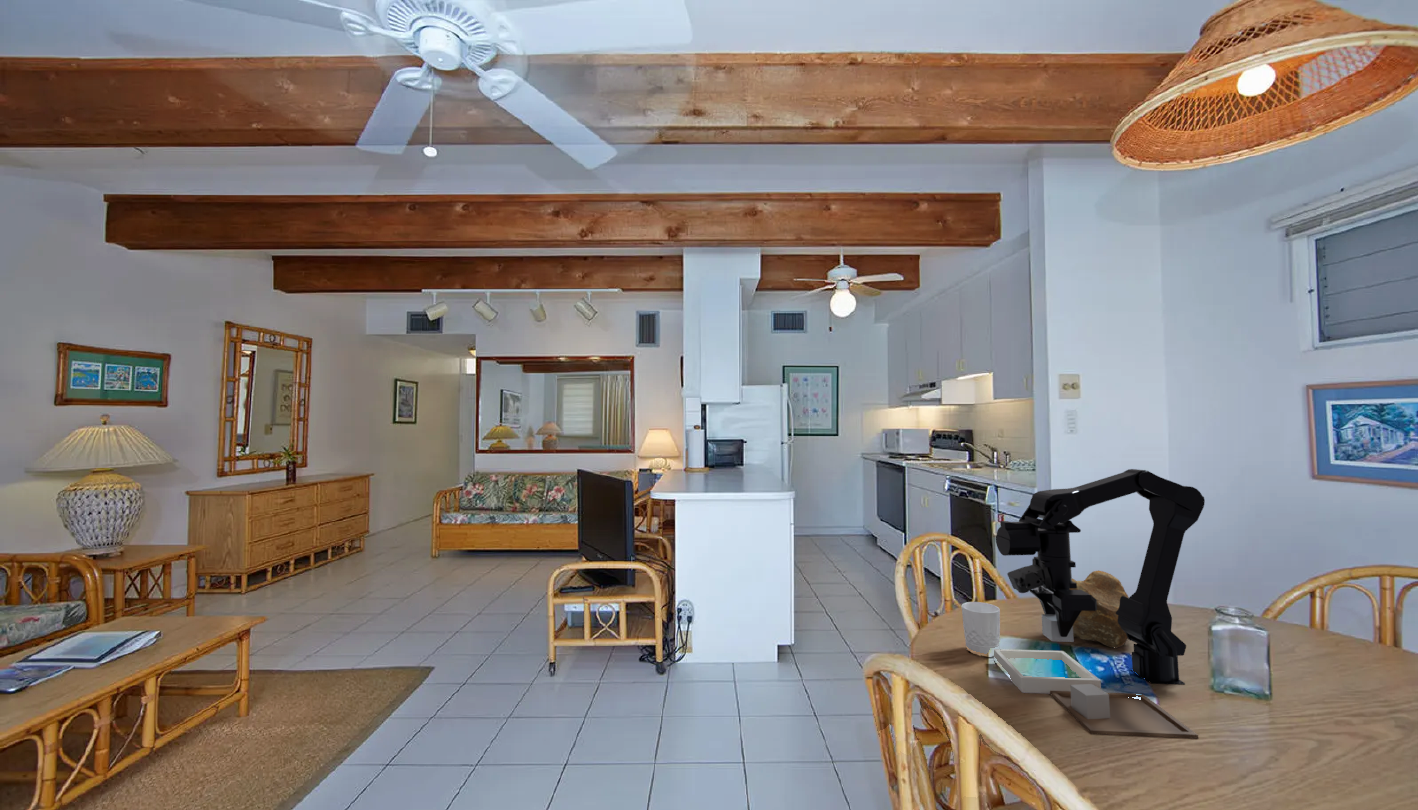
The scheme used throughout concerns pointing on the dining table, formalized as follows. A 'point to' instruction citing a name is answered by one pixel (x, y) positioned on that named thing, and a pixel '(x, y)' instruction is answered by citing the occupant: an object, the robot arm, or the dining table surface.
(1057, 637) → the grey block
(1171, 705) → the dining table surface
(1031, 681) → the cream dish
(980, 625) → the white cup
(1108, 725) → the walnut tray
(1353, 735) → the dining table surface
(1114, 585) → the rough brown rock
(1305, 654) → the dining table surface
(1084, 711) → the small grey cuboid
